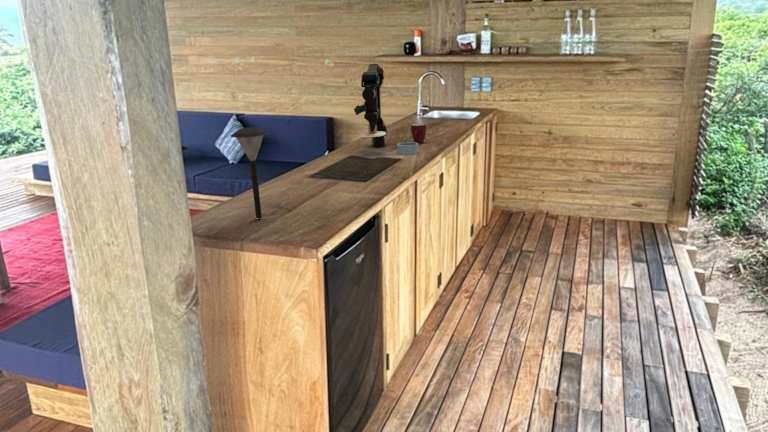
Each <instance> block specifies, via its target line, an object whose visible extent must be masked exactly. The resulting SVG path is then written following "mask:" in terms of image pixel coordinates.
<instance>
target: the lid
mask: <svg viewBox="0 0 768 432" xmlns="http://www.w3.org/2000/svg"><path fill="white" fill-rule="evenodd" d="M367 128H368V129H367V130H368V131H362V132H360V133H359V136H360V137H362V138H372V137H379V136H384V135H386V132H383V131H377V125H375V129H374V132H371V129H370V125H369V124H368V126H367ZM384 137H385V136H384Z"/></svg>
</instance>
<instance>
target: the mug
mask: <svg viewBox="0 0 768 432" xmlns="http://www.w3.org/2000/svg"><path fill="white" fill-rule="evenodd" d="M410 131H411V136H412V140H413V142H416V143H418V145H419V144H423V143H424V141H425V139H426V132H427V124H426V123H412V124H410Z"/></svg>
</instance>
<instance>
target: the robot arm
mask: <svg viewBox="0 0 768 432" xmlns="http://www.w3.org/2000/svg"><path fill="white" fill-rule="evenodd" d="M360 80H361V84H360V86H361V87H360V88H364V89H363V91H362V93H361V97H362V99H363V100H364V104H361V105H359V104H358V105H356V106H355V107H354V108H353V111H354V113H355V116H358V115H360V114H361V113H364V115H363V117H364V120H366V121H367V122H368V125H370V129H371V132H374V129H375V125H377V131H383V132H386V135H384V136H379V137H371V144H372V145H370V148H375V149H380V148H384V147H385V148H386V143H385V142H386V140H385V137H386V136H388V129H387V126H386V124H385V121H384V119H383V118H382V111H381V110H382V109H381V108H382V107H381V105H382V103H381V101H382V100H381V88H382V87H383V85H384V80H385V72H384V69H383V68H382V67H381V66H380V64H379V63H370V64H368V68H367V69H366V71H363V73H362V74H361V79H360Z"/></svg>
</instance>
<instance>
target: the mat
mask: <svg viewBox="0 0 768 432" xmlns="http://www.w3.org/2000/svg"><path fill="white" fill-rule="evenodd" d="M395 154H397V153H396V152H391V151H385V150H379V149H371V150H368V151H363V152H359V153H358V152H357V153H353V154H352V157H353V156H354V157H360V158H367V159H371V160H374V159H378V158H382V157H386V156H392V155H395Z"/></svg>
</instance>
